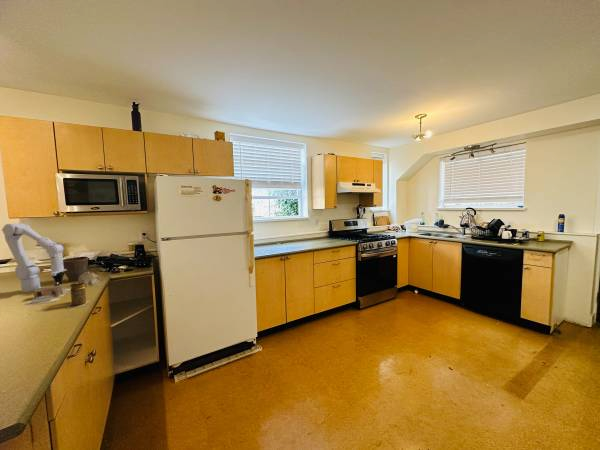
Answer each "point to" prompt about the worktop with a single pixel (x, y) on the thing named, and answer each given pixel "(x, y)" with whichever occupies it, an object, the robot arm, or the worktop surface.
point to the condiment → (78, 295)
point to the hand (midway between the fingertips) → (59, 284)
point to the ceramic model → (89, 279)
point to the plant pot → (75, 267)
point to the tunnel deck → (39, 291)
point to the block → (48, 292)
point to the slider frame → (47, 297)
